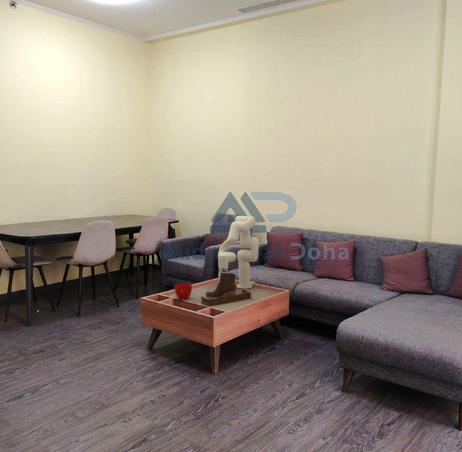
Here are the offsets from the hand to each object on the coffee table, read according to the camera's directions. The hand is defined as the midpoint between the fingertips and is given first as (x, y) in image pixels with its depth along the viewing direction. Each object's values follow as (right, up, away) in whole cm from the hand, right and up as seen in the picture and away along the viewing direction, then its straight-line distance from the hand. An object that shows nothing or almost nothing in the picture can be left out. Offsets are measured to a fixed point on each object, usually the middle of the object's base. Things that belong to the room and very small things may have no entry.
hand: (223, 293), depth 350 cm
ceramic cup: (-30, -4, -6) cm, 31 cm away
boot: (-2, -4, -5) cm, 6 cm away
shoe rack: (+3, -4, -11) cm, 12 cm away
